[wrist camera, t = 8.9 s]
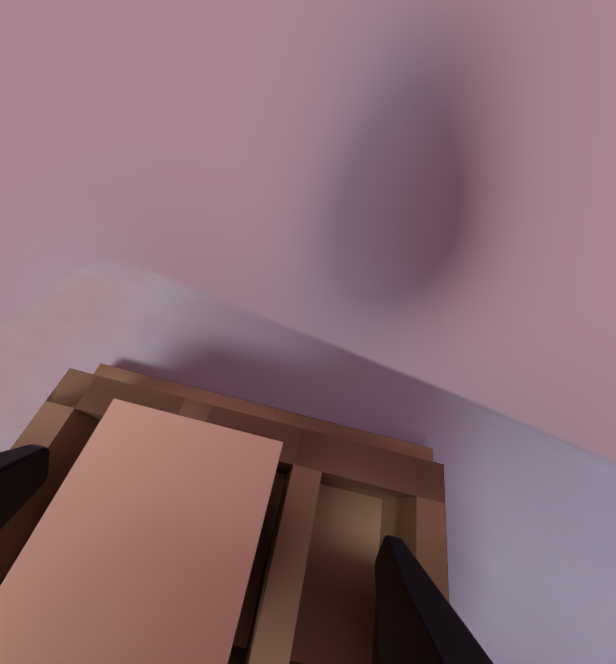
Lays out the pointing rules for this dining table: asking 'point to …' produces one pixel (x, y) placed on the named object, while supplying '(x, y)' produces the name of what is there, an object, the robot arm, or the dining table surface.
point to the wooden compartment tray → (276, 512)
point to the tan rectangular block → (142, 546)
